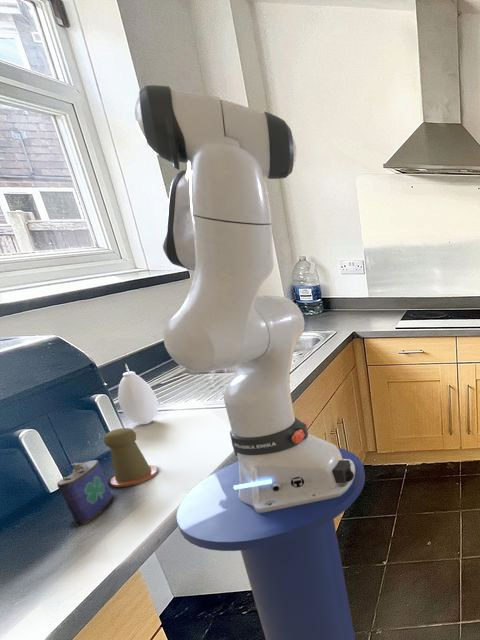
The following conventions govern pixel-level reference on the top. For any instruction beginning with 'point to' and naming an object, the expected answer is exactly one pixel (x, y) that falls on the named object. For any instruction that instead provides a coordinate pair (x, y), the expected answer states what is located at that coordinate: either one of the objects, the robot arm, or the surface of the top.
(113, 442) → the cork
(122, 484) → the coaster
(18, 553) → the top surface
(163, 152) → the robot arm
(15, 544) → the top surface
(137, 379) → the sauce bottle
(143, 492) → the top surface
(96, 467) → the flask
